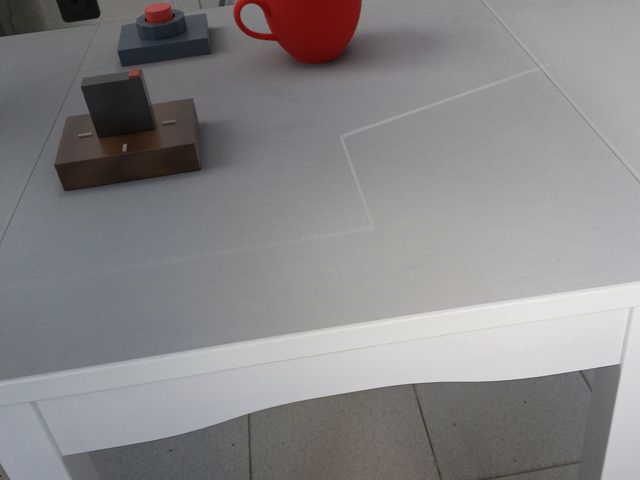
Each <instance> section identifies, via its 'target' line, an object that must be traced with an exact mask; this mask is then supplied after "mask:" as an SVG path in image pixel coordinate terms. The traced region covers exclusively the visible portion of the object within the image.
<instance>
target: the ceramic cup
mask: <svg viewBox="0 0 640 480" xmlns="http://www.w3.org/2000/svg"><path fill="white" fill-rule="evenodd" d="M249 4H251V5H256V6H258V7H259V8H260V9H261V11H262V12H263V16H264V19H265V21H266V24H267V26H268V29H269V31H270V33H266V32H265V33H262V32H257V31H253V30H251V29H249V28H248V27H247V26H246V25H245V24H244V22H243V21H242V20H243V19H242V17H241V16H242V15H241V13H242V10H243V8H244V7H245V6H247V5H249ZM362 5H363V0H237V1H236V3H235V4H234V7H233V13H232V14H233V19H234V23H235V25H236V26H237V27H238V28H239V30H240V31H241V32H242V33H243V34H245V35H246V36H248V37H250V38H253V39H255V40H260V41H270V42H277V43H278V45H279V46H280V47H281V48H282V49H283V50H284V51H285V52H287V54H288V55H290V56H291V57H292V59H293V60H294V61H297V62H298V63H303V64H322V63H327V62H330V61H333V60H335V59H337V58H339V57H340V56H341V55H342V54H343V52H344V50H345V49H346V47H348V45H349V44H350V42H351V40H352V39H353V37H354V35H355V34H356V33H355V32H356V30H357V28H358V25H359V22H360V17H361V12H362Z"/></svg>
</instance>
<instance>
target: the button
mask: <svg viewBox="0 0 640 480" xmlns="http://www.w3.org/2000/svg"><path fill="white" fill-rule="evenodd" d="M172 9H173V8H172V5H171V4H170V3H168V2H155V3H152V4H148V5H147V6H145V7H144V8H143V12H144V14H145V16H146V19H147V23H161V22H166V21H169V20H171V19H173V18H174V17H173V13H172Z"/></svg>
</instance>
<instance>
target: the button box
mask: <svg viewBox="0 0 640 480" xmlns="http://www.w3.org/2000/svg"><path fill="white" fill-rule="evenodd" d="M171 9H172V13H173V17H174V18H173V19H171V20H169V21H166V22H161V23H147V19H146V16H145V13H144V14H141V15H140V16H138V17H137V18H136V19H135V22H133V23H126V24H121V27H120V33H119V38H118V44H117V50H116V52H117V55H118V58H119V61H120V65H121V67H122V68H123V67H131V66H137V65H144V64H151V63H158V62H166V61H172V60H179V59H185V58H186V59H187V58H192V57H199V56H206V55H211V54H212V51H211V38H210V28H209V23H208V18H207V17H208V16H207V13H205V12H203V13H197V14H190V15H189V14H188V15H185V12H184V11H182V10H180V9H177V8H176V9H175V8H171Z"/></svg>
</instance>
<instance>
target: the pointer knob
mask: <svg viewBox="0 0 640 480" xmlns="http://www.w3.org/2000/svg"><path fill="white" fill-rule="evenodd" d="M81 79H82V80H81V83H80V90H81V92H82V95H83V98H84V101H85V104H86V107H87V110H88V114H90V116H91V119H92V122H93V125H94V128H95V131H96V134H97V137H98V138H99V137H106V136H112V135H119V134H126V133H132V132H139V131H145V130H152V129H155V126H156V118H155V115H154V111H153V107H152V104H153V103H152V100H151V97H150V94H149V89H148V86H147V82H146V79H145V75H144V71H143V69H142V68H140V67H134V68H133V67H132V68H129V70H128V71H120V72H113V73H107V74H100V75H93V76H87V77H83V78H81Z"/></svg>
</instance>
